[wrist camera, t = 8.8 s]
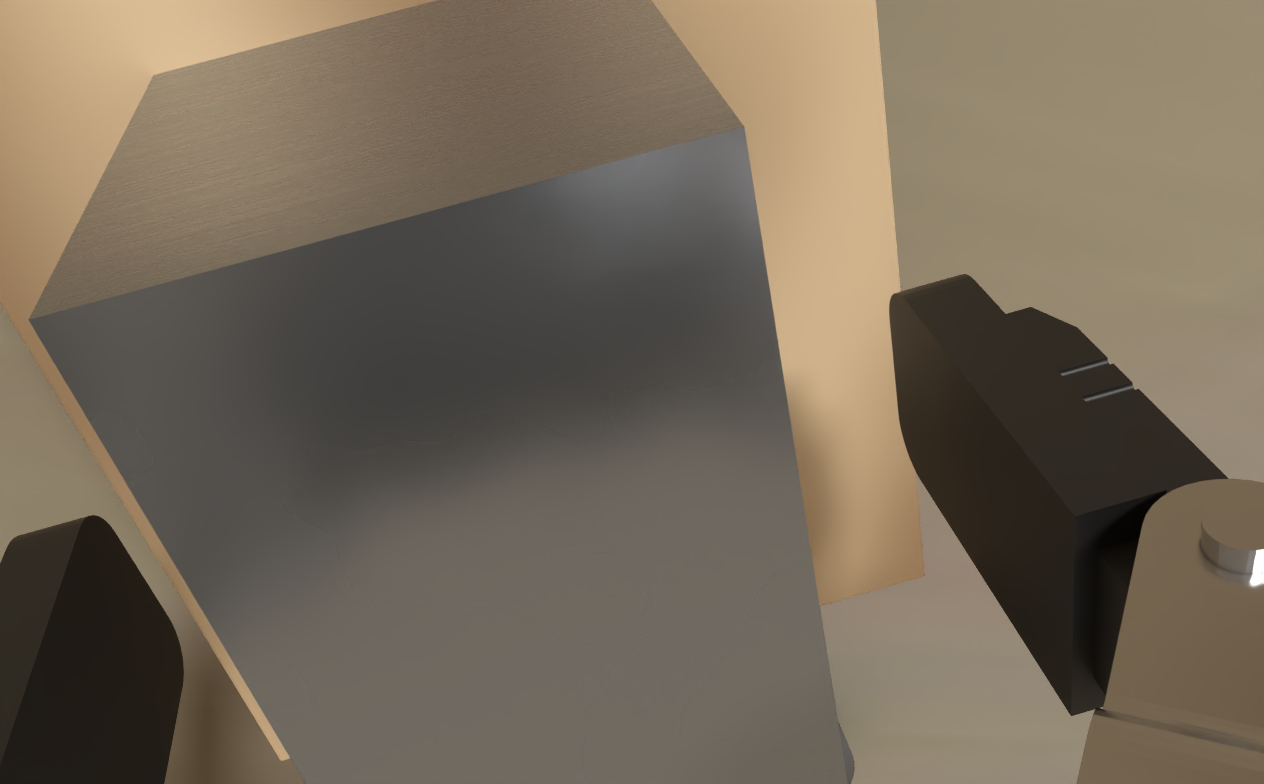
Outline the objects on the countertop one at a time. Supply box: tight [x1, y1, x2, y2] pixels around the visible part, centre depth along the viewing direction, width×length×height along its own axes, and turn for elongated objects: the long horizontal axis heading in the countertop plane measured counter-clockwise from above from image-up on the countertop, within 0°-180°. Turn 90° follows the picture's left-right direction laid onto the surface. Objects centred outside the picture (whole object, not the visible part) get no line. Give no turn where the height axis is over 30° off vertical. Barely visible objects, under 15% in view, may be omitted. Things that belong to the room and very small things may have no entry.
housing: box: [28, 0, 848, 784], centre depth 12 cm, size 8×5×5 cm, turn 12°
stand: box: [0, 0, 925, 761], centre depth 17 cm, size 10×12×6 cm
